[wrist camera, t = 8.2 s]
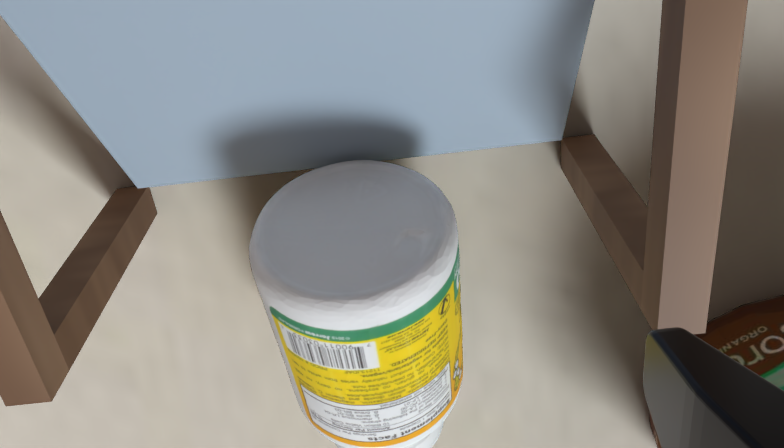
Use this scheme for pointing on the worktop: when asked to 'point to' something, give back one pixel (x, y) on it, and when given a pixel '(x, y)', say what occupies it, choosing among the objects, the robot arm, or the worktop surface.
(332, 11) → the grey flat block
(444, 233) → the supplement bottle
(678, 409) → the robot arm
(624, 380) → the worktop surface
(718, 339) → the food container
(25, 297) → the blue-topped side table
